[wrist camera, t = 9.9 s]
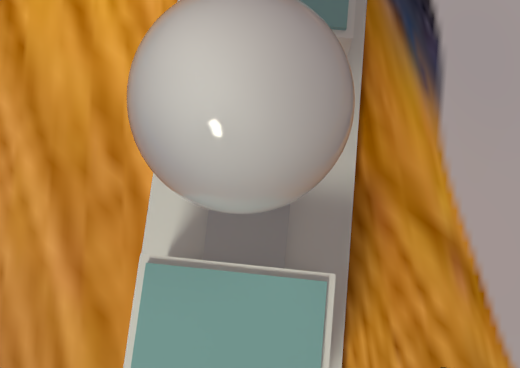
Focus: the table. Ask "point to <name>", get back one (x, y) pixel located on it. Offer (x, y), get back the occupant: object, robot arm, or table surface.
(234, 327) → the module rail
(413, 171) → the table surface
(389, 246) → the table surface
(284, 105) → the lightbulb
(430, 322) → the table surface
